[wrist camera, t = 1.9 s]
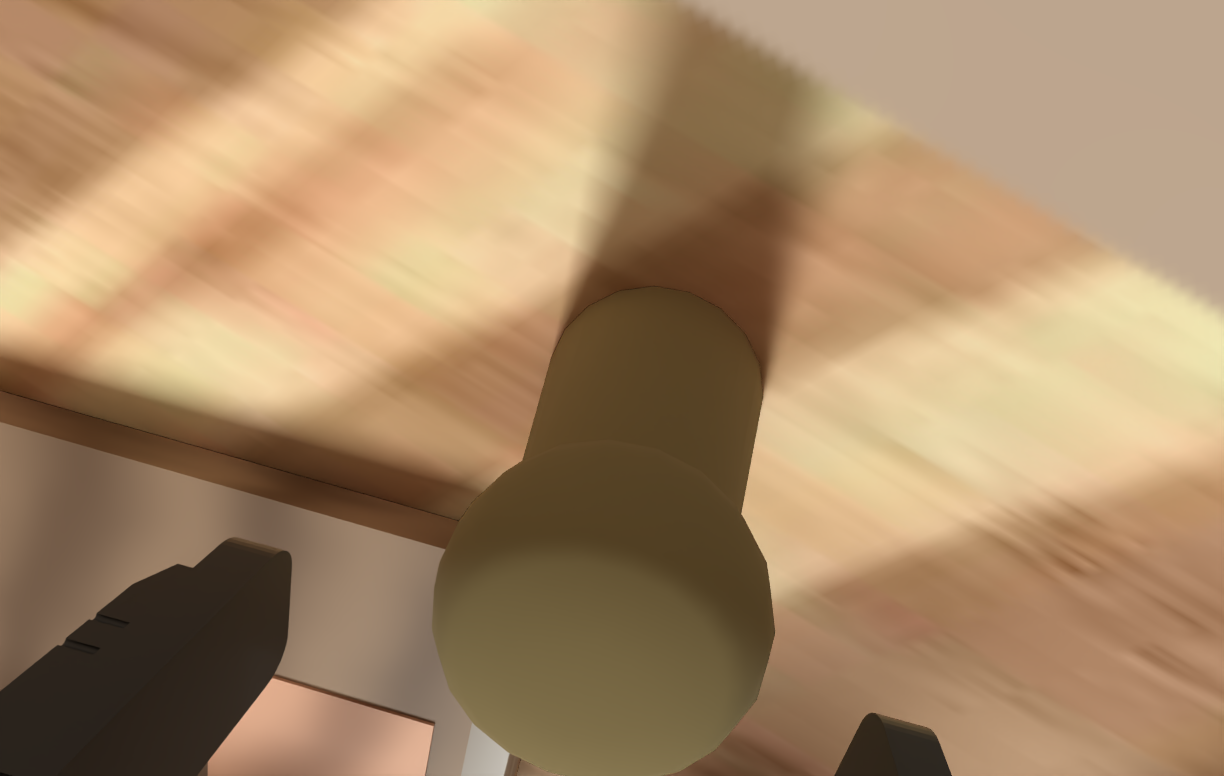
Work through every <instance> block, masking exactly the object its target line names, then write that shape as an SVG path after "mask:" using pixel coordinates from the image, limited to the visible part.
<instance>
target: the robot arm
mask: <svg viewBox="0 0 1224 776" xmlns="http://www.w3.org/2000/svg"><path fill="white" fill-rule="evenodd" d="M291 576H292V558H291V555H290V553H289V552H288V551H286V550H282V549H278V548H275V547H271V546H267V545H264V544H260V543H256V542H253V541H249V540H245V539H242V538H238V537H231V538H228V539H227V540H225V541H223V542H222V543H221V544H220V545H219V546H217V547H216V548H215V549H214V550H213V551H212V552H210V553H209V554H208V555H207V556H206V557H205V558H204V559H202V560H201V561H200V562H199V563H198V564H197V565H196V566H194V567H193V568H192V567H188V566H184V565H181V564H176V565H174V566H171V567H169V568H167V569H165V570H163V571H160V572H158V573H156V574H154V575H151V576H149V577H147V578H145V579H143V580H140V581H138V582H136V583H134V584H132V585H131V586H130V587H128V588H127V589H126V590H125V591H123V592H122V593H121V594H120V595H118V596H117V597H116V598H115V599H113V600H112V601H111V602H110V603H108V604H107V605H106V606H105V607H104V608H102V609H101V610H100V611H99V612H97V613H96V617H95V618H94V619H93V620H90V619H89V620H87V621H86V622H85V623H84V624H83V625H81V626H80V627H79V628H78V629H76V630H75V631H74V632H73V633H71V634H70V635H69V636H68V637H66V639H65V642H64V643H63V644H62V645H61V646H60V645H57V646H55V647H54V648H53V649H52V650H50V651H49V652H48V653H47V654H45V655H44V656H43V657H42V658H40V659H39V660H38V661H37V662H35V663H34V664H33V665H32V666H31V667H29V668H28V669H27V670H26V671H24V672H23V673H22V674H21V675H19V676H18V677H17V678H16V679H14V680H13V681H12V682H11V683H10V684H8V685H7V686H6V687H5V688H3V689H2V690H1V691H0V776H197V775H198V774H199V772H200V771H201V770H202V769H203V767H204V766H205V765H206V763H207V762H208V761H209V760H210V758H211V757H212V756H213V754H214V753H215V752H216V751H217V749H218V748H219V747H220V745H221V744H222V743H223V742H224V740H225V739H226V738H227V736H228V735H229V734H230V733H231V731H232V730H233V729H234V727H235V726H236V725H237V723H238V722H239V721H240V720H241V718H242V717H243V716H244V714H245V713H246V712H247V711H248V709H249V708H250V707H251V705H252V704H253V703H254V702H255V700H256V699H257V698H258V696H259V695H260V694H261V693H262V691H263V690H264V689H265V687H266V686H267V685H268V683H269V682H270V680H271V679H272V677H273V676H274V674H275V672H276V670H277V668H278V666H279V664H280V662H281V659H282V657H283V654H284V651H285V647H286V644H287V639H288V627H289V610H290V593H291ZM835 776H952V775H951V772H950V769H949V767H948V764H947V762H946V759H945V756H944V754H943V751H942V749H941V746H940V743H939V741H938V739H937V737H936V735H935V734H934V732H933V731H932V730H931V729H929V728H927V727H923V726H920V725H916V724H912V723H909V722H905V721H901V720H898V719H894V718H890V717H887V716H883V715H879V714H876V713H870V714H868V715H866V716H865V718H864V719H863V720H862V722H861V724H860V726H859V728H858V730H857V732H856V734H855V736H854V738H853V740H852V742H851V744H850V746H849V748H848V750H847V752H846V754H845V756H844V758H843V760H842V762H841V764H840V766H839V768H838V770H837V772H836V774H835Z"/></svg>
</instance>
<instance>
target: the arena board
mask: <svg viewBox="0 0 1224 776" xmlns="http://www.w3.org/2000/svg"><path fill="white" fill-rule="evenodd" d="M458 522H459V521H457V520H453V519H450V518H446V517H443V516H439V515H436V514H432V513H428V512H425V511H421V510H418V509H414V508H411V507H407V506H404V505H400V504H397V503H393V502H390V501H386V500H383V499H379V498H376V497H372V496H369V495H365V494H362V493H358V492H355V491H351V490H347V489H344V488H340V487H337V486H333V485H330V484H326V483H323V482H319V481H316V480H312V479H309V478H305V477H302V476H298V475H295V474H291V473H288V472H284V471H281V470H277V469H273V468H270V467H266V466H263V465H259V464H256V463H252V462H249V461H245V460H242V459H238V458H235V457H231V456H228V455H224V454H221V453H217V452H214V451H210V450H207V449H203V448H200V447H196V446H192V445H189V444H185V443H182V442H178V441H175V440H171V439H168V438H164V437H161V436H157V435H154V434H150V433H147V432H143V431H140V430H136V429H133V428H129V427H126V426H122V425H118V424H115V423H111V422H108V421H104V420H101V419H97V418H94V417H90V416H87V415H83V414H80V413H76V412H73V411H69V410H66V409H62V408H59V407H55V406H52V405H48V404H45V403H41V402H37V401H34V400H30V399H27V398H23V397H20V396H16V395H13V394H9V393H6V392H2V391H0V691H1V690H2V689H3V688H5V687H6V686H7V685H8V684H10V683H11V682H12V681H13V680H14V679H16V678H17V677H18V676H19V675H21V674H22V673H23V672H24V671H26V670H27V669H28V668H29V667H31V666H32V665H33V664H34V663H35V662H37V661H38V660H39V659H40V658H42V657H43V656H44V655H45V654H47V653H48V652H49V651H50V650H52V649H53V648H54V647H55V646H57V645H60V646H61V645H62V644H63V643H64V642H65V639H66V637H68V636H69V635H70V634H71V633H73V632H74V631H75V630H76V629H78V628H79V627H80V626H81V625H83V624H84V623H85V622H86V621H87V620H89V619H90V620H93V619H94V618H95V617H96V613H97V612H99V611H100V610H101V609H102V608H104V607H105V606H106V605H107V604H108V603H110V602H111V601H112V600H113V599H115V598H116V597H117V596H118V595H120V594H121V593H122V592H123V591H125V590H126V589H127V588H128V587H130V586H131V585H132V584H134V583H136V582H138V581H140V580H143V579H145V578H147V577H149V576H151V575H154V574H156V573H158V572H160V571H163V570H165V569H167V568H169V567H171V566H174V565H176V564H181V565H184V566H188V567H192V568H193V567H194V566H196V565H197V564H198V563H199V562H200V561H201V560H202V559H204V558H205V557H206V556H207V555H208V554H209V553H210V552H212V551H213V550H214V549H215V548H216V547H217V546H219V545H220V544H221V543H222V542H223V541H225V540H227V539H228V538H231V537H238V538H242V539H245V540H249V541H253V542H256V543H260V544H264V545H267V546H271V547H275V548H278V549H282V550H286V551H288V552H289V553H290V555H291V558H292V576H291V593H290V610H289V627H288V639H287V644H286V647H285V651H284V654H283V657H282V659H281V662H280V664H279V666H278V668H277V670H276V672H275V674H274V676H273V677H272V679H271V680H270V682H269V683H268V685H267V686H266V687H265V689H264V690H263V691H262V693H261V694H260V695H259V696H258V698H257V699H256V700H255V702H254V703H253V704H252V705H251V707H250V708H249V709H248V711H247V712H246V713H245V714H244V716H243V717H242V718H241V720H240V721H239V722H238V723H237V725H236V726H235V727H234V729H233V730H232V731H231V733H230V734H229V735H228V736H227V738H226V739H225V740H224V742H223V743H222V744H221V745H220V747H219V748H218V749H217V751H216V752H215V753H214V754H213V756H212V757H211V758H210V760H209V761H208V762H207V763H206V765H205V766H204V767H203V769H202V770H201V771H200V772H199V774H198V775H197V776H516V775H517V771H518V767H519V763H520V760H521V759H520V758H518V757H516V756H514V755H512V754H510V753H508V752H507V751H505V750H504V749H503V748H502V747H501V746H499V745H498V744H497V743H496V742H495V741H493V740H492V739H491V738H490V737H488V736H487V735H486V734H485V733H484V732H482V731H481V730H480V729H479V728H477V727H476V726H475V725H474V724H473V723H472V721H471V720H470V718H469V717H468V716H467V714H466V713H465V711H464V710H463V709H462V707H461V706H460V704H459V703H458V702H457V700H456V699H455V697H454V696H453V694H452V693H451V692H450V690H449V687H448V684H447V680H446V677H445V674H444V671H443V668H442V665H441V661H440V658H439V655H438V652H437V648H436V644H435V640H434V636H433V632H432V616H433V597H434V585H435V581H436V576H437V571H438V567H439V562H440V560H441V558H442V556H443V554H444V552H445V549H446V547H447V545H448V543H449V541H450V539H451V537H452V535H453V533H454V530H455V528H456V526H457V524H458Z"/></svg>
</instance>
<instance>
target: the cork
mask: <svg viewBox="0 0 1224 776" xmlns="http://www.w3.org/2000/svg"><path fill="white" fill-rule="evenodd" d="M762 400H763V391H762V382H761V372H760V364H759V362H758V360H757V358H756V355H755V353H754V351H753V349H752V347H751V345H750V343H749V341H748V339H747V337H746V334H745V333H744V332H743V331H742V330H741V329H740V328H739V327H738V326H737V325H736V324H735V323H734V322H733V321H732V320H731V319H730V318H729V317H728V316H727V315H726V314H725V313H724V311H723V310H722V309H720V308H718V307H716V306H715V305H713V304H711V303H709V302H707V301H705V300H703V299H701V298H699V297H697V296H695V295H694V294H692V293H690V292H685V291H679V290H673V289H668V288H662V287H656V286H651V287H644V288H637V289H630V290H623V291H618V292H616V293H614V294H612V295H610V296H608V297H606V298H604V299H602V300H600V301H598V302H596V303H594V304H592V305H589V306H588V307H587V308H586V309H585V310H584V311H583V312H582V313H581V314H580V315H579V316H578V317H577V318H576V319H575V320H574V321H573V322H572V323H571V324H570V325H569V326H568V327H567V328H566V329H565V330H564V333H563V335H562V337H561V339H560V341H559V343H558V345H557V347H556V349H555V351H554V353H553V355H552V357H551V361H550V364H549V368H548V371H547V375H546V378H545V382H544V386H543V389H542V393H541V396H540V400H539V403H538V407H537V411H536V414H535V418H534V421H533V425H532V428H531V432H530V436H529V439H528V443H527V446H526V450H525V453H524V457H523V461H521V462H520V463H518V464H517V465H515V466H513V467H512V468H510V469H509V470H507V471H506V472H504V473H503V474H502V475H501V476H500V477H499V478H498V479H497V480H496V481H495V482H494V483H492V484H491V485H490V486H489V487H488V488H487V489H486V490H485V491H484V492H483V493H482V494H481V495H480V496H478V497H477V498H476V499H475V500H474V501H473V502H472V503H471V505H470V506H469V508H468V509H467V511H466V512H465V513H464V515H463V516H462V518H461V519H460V521H459V522H458V524H457V526H456V528H455V530H454V533H453V535H452V537H451V539H450V541H449V543H448V545H447V547H446V549H445V552H444V554H443V556H442V558H441V560H440V562H439V567H438V571H437V576H436V581H435V585H434V597H433V616H432V632H433V636H434V640H435V644H436V648H437V652H438V655H439V658H440V661H441V665H442V668H443V671H444V674H445V677H446V680H447V684H448V687H449V690H450V692H451V693H452V694H453V696H454V697H455V699H456V700H457V702H458V703H459V704H460V706H461V707H462V709H463V710H464V711H465V713H466V714H467V716H468V717H469V718H470V720H471V721H472V723H473V724H474V725H475V726H476V727H477V728H479V729H480V730H481V731H482V732H484V733H485V734H486V735H487V736H488V737H490V738H491V739H492V740H493V741H495V742H496V743H497V744H498V745H499V746H501V747H502V748H503V749H504V750H505V751H507V752H508V753H510V754H512V755H514V756H516V757H518V758H520V759H522V760H525V761H527V762H529V763H531V764H533V765H535V766H537V767H539V768H541V769H543V770H545V771H547V772H550V773H554V774H559V775H563V776H664V775H668V774H672V773H676V772H680V771H681V770H683V769H685V768H686V767H688V766H690V765H691V764H693V763H695V762H696V761H698V760H699V759H701V758H703V757H704V756H706V755H708V754H709V753H711V752H713V751H714V750H715V749H716V748H717V747H718V746H719V745H720V744H721V743H722V741H723V740H724V739H725V738H726V737H727V736H728V735H729V734H730V732H731V731H732V730H733V729H734V727H735V726H736V725H737V724H738V722H739V721H740V720H741V719H742V717H743V716H744V715H745V714H746V712H747V711H748V710H749V709H750V707H751V706H752V705H753V704H754V703H755V701H756V700H757V697H758V693H759V690H760V687H761V683H762V680H763V676H764V673H765V670H766V666H767V663H768V659H769V656H770V652H771V648H772V644H773V640H774V636H775V626H774V617H773V608H772V599H771V590H770V583H769V576H768V569H767V562H766V560H765V558H764V556H763V555H762V553H761V551H760V549H759V547H758V545H757V543H756V541H755V539H754V537H753V535H752V533H751V531H750V529H749V527H748V525H747V524H746V522H745V520H744V518H743V516H742V515H741V512H742V506H743V501H744V496H745V490H746V485H747V480H748V474H749V469H750V464H751V458H752V453H753V448H754V442H755V437H756V432H757V426H758V421H759V416H760V410H761V405H762Z"/></svg>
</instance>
